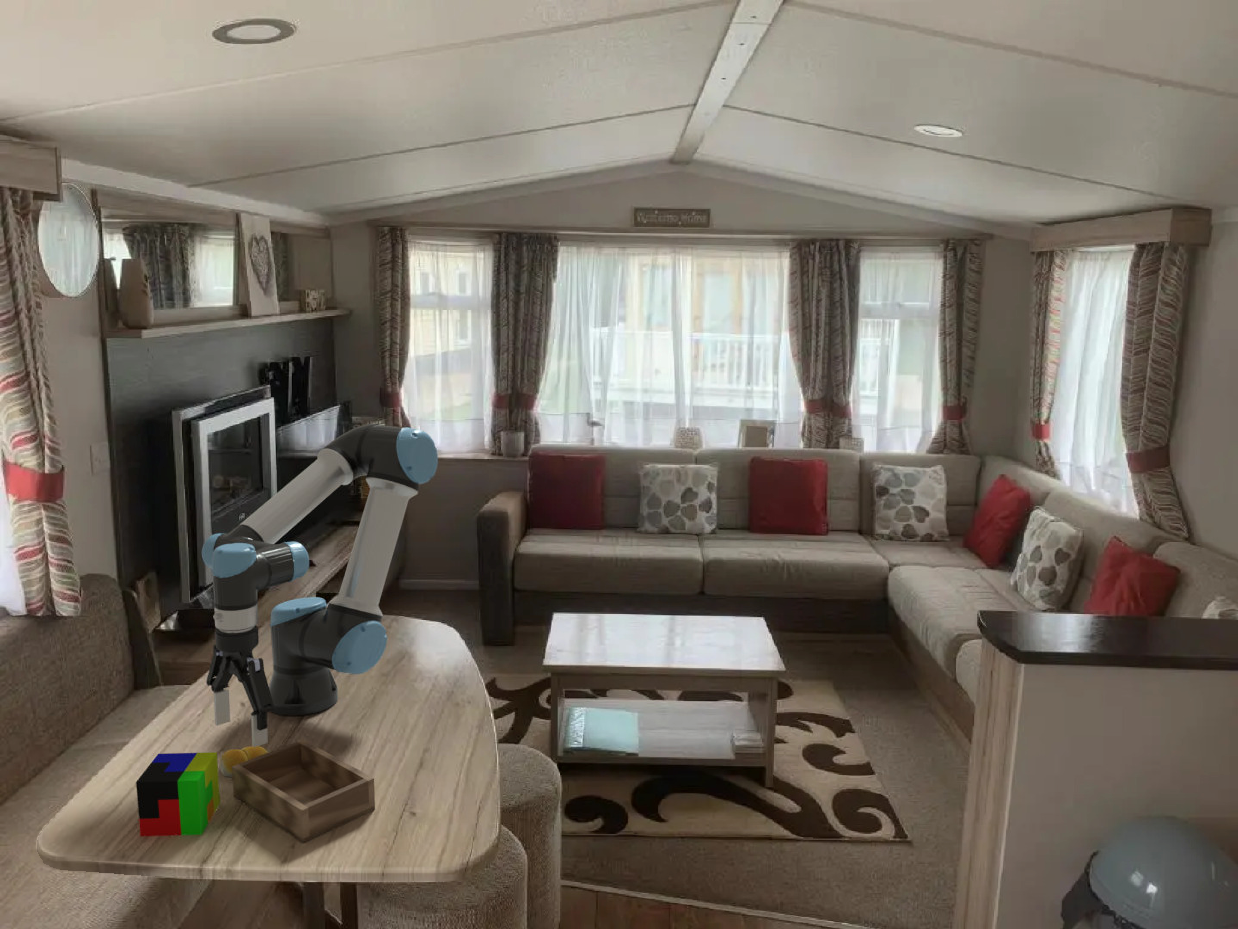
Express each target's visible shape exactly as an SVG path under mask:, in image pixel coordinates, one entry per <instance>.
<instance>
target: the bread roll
mask: <svg viewBox="0 0 1238 929" xmlns="http://www.w3.org/2000/svg"><path fill="white" fill-rule="evenodd" d="M268 752H269V751H268V750H267V749H266V748H264V747H263V746H261V745H260V746H257V747H253V746H252V745H251V746H245V747H243V748H241V749H237V748H236V749H228V750H227V751H226V752H224V753H223V754H222V755H221V757H220V763H219V765H218V769H219V771H220V773H221V774H222V776H225V777H226V778H227V777H228V778H233V776H232V766H235V765H237V764H240V763H243V762H245V761H248V760H250V759H253V758H256V757H258V756H261V755H263V754H266V753H268Z"/></svg>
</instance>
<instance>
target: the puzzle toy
mask: <svg viewBox="0 0 1238 929" xmlns="http://www.w3.org/2000/svg"><path fill="white" fill-rule="evenodd" d="M135 785H136V786H135V789H136V798H137V810H138V822H139V836H140V837H165V836H166V837H167V836H169V837H170V836H171V837H172V836H198V835H199V836H202V835H203V833H204V832H205V830H206V829H207V827H208V825H209V823H210V822H211V820H212V819H213V817H214V815H215V813H216V812H215V811H217V810H218V808H219V807H220V805H221V798H220V797H221V796H220V794H221V793H220V781H219V765H218V752H215V751H214V752H172V753H169V752H168V753H157V755H156V756H155V757H154V759H153V760H151V762H150V764H149V765H148V766H147V768H145V770H144V771H143V773H142V774H141V775H140V776H139V778H138V779H137V780H136V781H135ZM219 804H220V805H219ZM218 806H219V807H218ZM216 809H217V810H216ZM212 816H213V817H212Z"/></svg>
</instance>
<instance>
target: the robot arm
mask: <svg viewBox="0 0 1238 929" xmlns="http://www.w3.org/2000/svg"><path fill="white" fill-rule="evenodd" d="M438 455H439V454H438V450H437V447H436V444H435V441H434V439H433V438H432V437H431V436H430V435H429V433H427V432H425V431H424V430H420V429H416V428H412V427H409V426H408V427H407V426H406V427H403V426H395V425H393V426H392V425H384V424H383V425H382V424H378V423H369V424H363V425H360V426H356V427H354V428H352V429H350V430H348V431H347V432H344V433H342V434H341V435H339V436H338V437H336V438H335V439H333V440H332V441H330V442H329V443H328V444H327V445H325V446H324V447H323V448H322V449H320V450H319V452H318V453H317V459H315V461H314V462H312V463H311V464H310V465H309V466H307V468H305V469H304V470H303V471H301V472H300V473H299V474H298V475H297V476H295V478H293V479H292V480H291V481H289V482H288V483H287V484H286V485H285V486H283V488H282V489H280V490H279V491H277V493H275V494H274V495H273V496H272V497H271V498H270V499H268V500H267V501H266V502H264V503H263V504H262V505H261V506H260V507H259V508H257V510H255V511H254V512H253V513H252V514H250V515H249V516H248V517H247V518H246V519H245V520H243V521H242V522H241V523H240V524H238V526H237V527H235V528H234V529H232V530H231V531H230V532H228V533H225V532H223V533H221V532H219V533H218V532H217V533H214V534H212V535H210V536H209V537H207V538H206V540H205V541H204V543H203V546H202V548H201V557H202V561H203V563H204V564H205V565H206V567H208V568H209V569H211V574H212V588H213V589H212V590H213V591H212V592H213V607H214V614H213V619H214V626H215V628H216V629H215V632H214V634H215V636H214V637H215V644H213V646H212V647H213V648H212V658H211V662H210V666H209V670H208V674H207V677H206V685H207V687H209V686H210V687H211V688H210V689H211V691H212V692H213V707H214V710H213V711H214V725H215V726H221V725H223V724H226V723H230V722H231V712H230V711H231V709H230V690H229V689H228V688H229V687H230V686H229V683H230V681H231V679H232V677H233V675H234V677H236V678H237V681H238V682H239V683H240V684H241V683H242V686H243V688H244V691H245V694H246V697H247V698H248V701H249V703H250V706H251V708H252V712H251V713H250V718H251V720H250V721H251V746H253V747H257V746H260V747H261V746H262V745H263V746H264V745H265V744H268V743H269V741H268V740H269V739H268V712H269V713H270V712H271V713H273V714H277V715H280V716H281V715H282V716H288V717H289V716H293V717H294V716H297V717H298V716H306V715H311V714H316V713H319V712H323V711H325V710H327V709H329V708H330V707H333V706H334V705H335V704H336V703H337V702H338V699H339V691H338V685H337V683H336V681H335V677H334V675H333V673H332V671H331V670H334V671H336V672H338V673H343V674H350V675H362V674H364V673H367V672H368V671H370V670H371V669H372V668H373V667H375V666H377V664H378V663H379V661H380V660H381V658H382V657H383V655H384V653H385V651H386V648H387V644H388V636H387V630H386V628H385V627H384V625H382V622H381V621H382V620H383V616H384V614H383V612H382V610H381V609H380V606H379V604H380V600H381V596H382V594H383V593H382V592H383V590H384V586H385V584H386V583H385V582H386V580H387V577H388V573H389V569H390V565H391V563H392V558H393V555H394V552H395V549H396V545H397V542H398V538H399V535H400V531H401V528H402V525H403V521H404V517H405V514H406V510H407V507H408V503H409V500H410V499H411V498H413V497H414V496H417V495H419V494H418V493H419V491H420V488H421V487H420V486H421V485H422V484H425V483H428V482H429V481H430V480H431V479H433V477H434V476H435V474H436V472H437V469H438V464H439V463H438V462H439V459H438V458H439V456H438ZM364 476H366V477H365V481H366V483H367V485H368V487H369V491H368V496H367V499H366V502H365V506H364V509H363V512H362V516H361V519H360V522H359V527H358V529H357V533H356V536H355V539H354V542H353V546H352V549H351V553H350V555H349V559H348V562H347V566H346V569H345V573H344V576H343V580H342V583H341V586H340V589H339V593H338V595H337V596H336V597H334V598H332V599H331V600H329V602H328V604H327V602H326V600H325V599H324V598H322V597H318V596H314V597H313V596H311V597H301V598H295V599H291V600H286V601H284V602H281V603H279V604H276V606H274V607H273V608H272V610H271V612H270V624H269V627H270V637H271V638H270V640H271V653H272V654H271V655H272V670H273V671H272V674H271V679H270V682H268V680H267V676H266V672H265V665H264V659H263V657H260V658H254V655H253V651H254V649H255V648H256V647H258V645H259V626H257V625H258V623H259V616H258V614H259V612H258V591H261V590H265V589H268V588H271V587H275V586H279V585H282V584H285V583H286V584H287V583H291V582H293V581H295V580H297V579H300V578H302V577H305V575H306V574H307V572H308V570H309V567H310V557H309V553H308V551H307V550H306V547H305V546H304V545H303V544H302V543H300V542H298V541H287V542H286V541H283V542H282V543H279V544H278V543H277V542H278V541H279V540H280V539H281V538H282V537H283V536H285V535H286V534H287V533H288V532H289V531H290V530H292V528H294V527H295V526H297V524H298V523H300V522H301V521H302V520H303V519H304V518H305V517H306V516H307V515H309V514H310V513H311V512H312V511H313V510H315V508H316V507H318V505H320V504H321V503H322V502H323V501H324V500H325V499H326V498H328V497H329V496H330V495H332V493H333V492H334V491H336V490H337V489H338V488H339V487H341V485H342V486H348V485H349V484H351V482H353V481H354V480H355V479H357V478H360V477H364ZM276 543H277V544H276ZM268 683H269V684H268Z"/></svg>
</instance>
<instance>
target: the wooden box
mask: <svg viewBox="0 0 1238 929" xmlns="http://www.w3.org/2000/svg"><path fill="white" fill-rule="evenodd" d="M267 752H268V753H266V754H263V755H261V756H258V757H256V758H253V759H250V760H248V761H245V762H243V763H240V764H237V765H235V766H232V776H233V777H232V790H233V791H232V792H233V798H234V797H235V798H234V799H236V800H237V801H238V802H240V803H242V804H243V803H244V804H243V805H244V806H246V807H248V808H249V809H251V810H252V809H253V810H252V811H254V812H255V813H257V814H258V815H260V816H262V817H263V818H265V819H266V820H267V821H269V822H271V823H272V824H274V825H275V826H276V827H278V828H280V829H281V830H283V831H284V832H285V833H287V834H288V835H290V836H292V837H294V839H296V840H297V841H299V842H301V843H302V844H305V843H307V842H310V841H311V840H315V838H317V837H320V836H322V835H324V834H327V833H329V832H330V831H333V830H335V829H336V828H339V827H341V826H344V825H345V824H347V823H349V822H351V821H353V820H355V819H357V818H360V817H362V816H364V815H366V814H368V813H370V812H372V811H375V810H376V802H375V801H376V800H375V798H376V797H375V795H376V794H375V793H376V792H375V778H374V777H372V776H371V775H369V774H367V773H365V772H364V771H362V770H361V769H357V768H356V767H355V766H352V765H351V764H349V763H347V762H345V761H343V760H341V759H340V758H338V757H336V756H334V755H332V754H330V753H329V752H327V751H325V750H324V749H321V748H319V747H317V746H316V745H314V744H312V743H310V742H309V741H306V740H305V739H300V740H298V741H295V742H292V743H289V744H287V745H285V746H281V747H278V748H277V749H274V750H271V751H267Z"/></svg>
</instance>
